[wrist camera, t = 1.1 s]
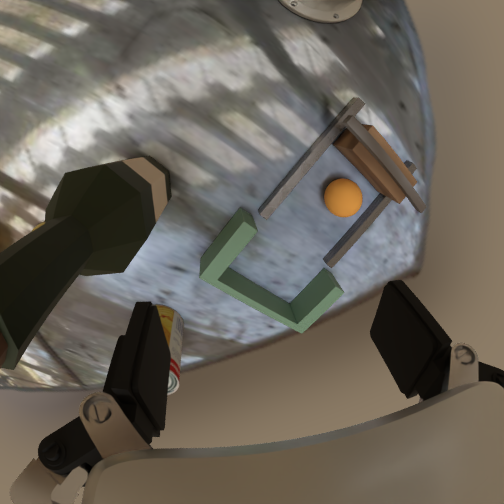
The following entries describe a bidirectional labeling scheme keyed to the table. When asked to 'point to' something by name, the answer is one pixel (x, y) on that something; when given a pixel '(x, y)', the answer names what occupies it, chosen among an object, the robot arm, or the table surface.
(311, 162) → the track
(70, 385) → the table surface
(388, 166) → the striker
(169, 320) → the canned food
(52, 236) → the wine bottle
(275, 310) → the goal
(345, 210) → the ball
